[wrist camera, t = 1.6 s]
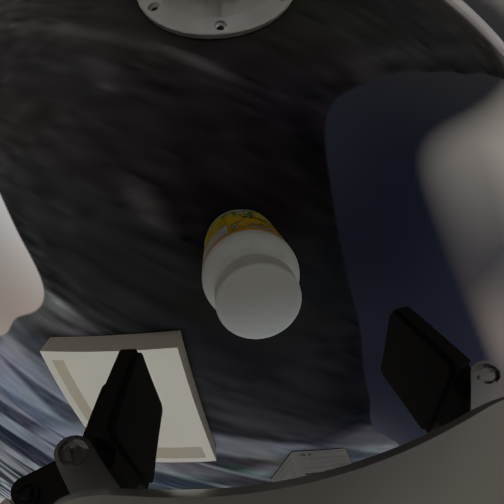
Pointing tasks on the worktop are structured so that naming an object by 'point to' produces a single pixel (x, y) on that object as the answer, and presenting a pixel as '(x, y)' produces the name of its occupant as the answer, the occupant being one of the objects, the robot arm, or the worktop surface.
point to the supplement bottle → (250, 275)
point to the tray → (163, 376)
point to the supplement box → (311, 463)
